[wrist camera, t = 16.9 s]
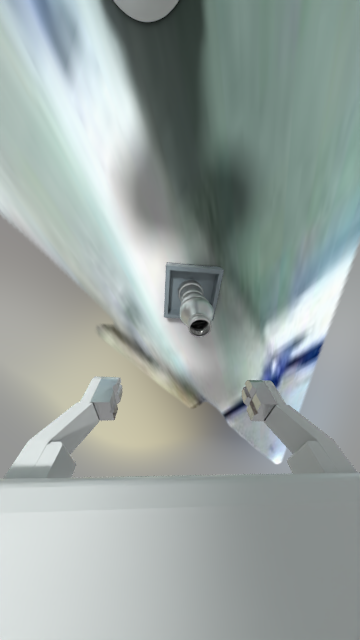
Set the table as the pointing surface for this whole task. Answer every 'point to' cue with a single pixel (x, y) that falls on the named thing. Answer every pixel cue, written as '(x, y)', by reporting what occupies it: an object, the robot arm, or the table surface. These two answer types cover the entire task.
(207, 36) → the table surface
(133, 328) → the table surface
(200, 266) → the box
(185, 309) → the plastic bottle
